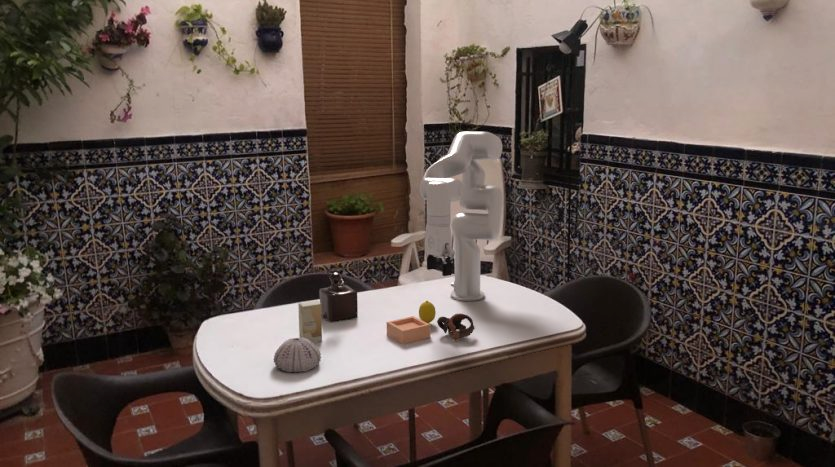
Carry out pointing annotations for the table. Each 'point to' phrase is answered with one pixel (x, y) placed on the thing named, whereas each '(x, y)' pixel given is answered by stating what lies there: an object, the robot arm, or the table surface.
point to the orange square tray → (408, 329)
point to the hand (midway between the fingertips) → (439, 272)
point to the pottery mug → (456, 325)
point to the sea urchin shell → (297, 355)
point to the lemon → (427, 312)
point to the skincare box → (310, 321)
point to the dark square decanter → (338, 300)
